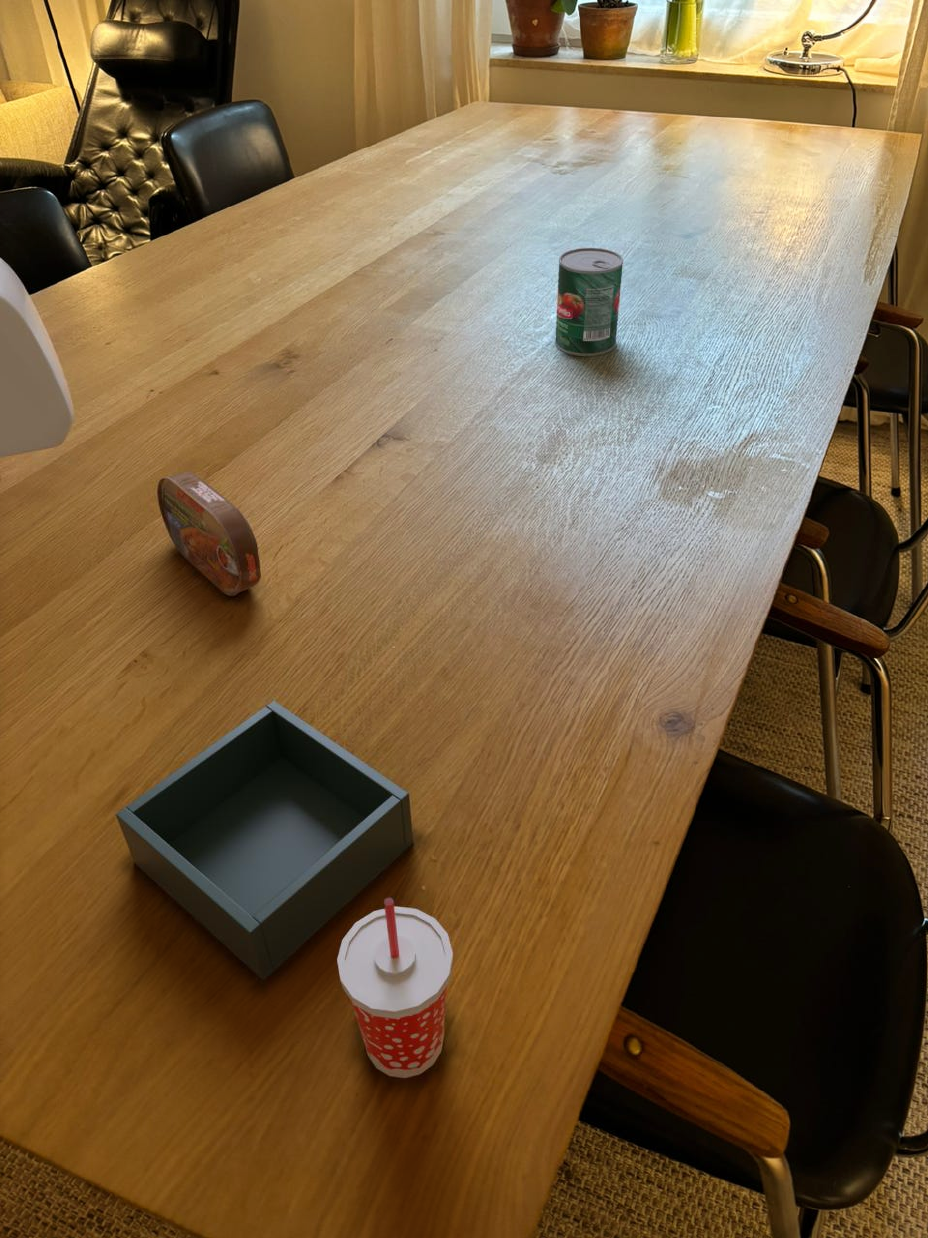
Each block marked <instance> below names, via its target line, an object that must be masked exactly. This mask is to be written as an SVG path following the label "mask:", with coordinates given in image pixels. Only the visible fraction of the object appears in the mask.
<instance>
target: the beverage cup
mask: <svg viewBox="0 0 928 1238" xmlns="http://www.w3.org/2000/svg"><path fill="white" fill-rule="evenodd" d="M383 904H384V906H383V907H384V908H382V909H381V908H380V909H377V910H374V911H372V912H371V913H368V914H367V915H365V916H364V917H363V918H361V919H358V920H357V921H356V922H355V923H354V924H353V925H352V927H351V928H350V929H349V931H348V932H347V933H346V934H345V936H344V937H343V939H342V940H341V944H340V947H339V951H338V955H337V958H336V960H337V967H338V968H337V969H338V973H339V974H338V975H339V979H340V984H341V987H342V990H343V991H344V992H345V993H346V995H347V997H348V998H349V999H350V1001H351V1004H352V1007H353V1012H354V1014H355V1017H356V1021H357V1024H358V1027H359V1030H360V1033H361V1038H362V1040H363V1044H364V1047H365V1050H366V1053H367V1056H368V1058H369V1060H370V1061H371V1063H372V1065H374V1067H375V1068H376V1069H377V1070H379V1071H380V1072H382V1073H384V1074H386V1075H387V1076H389V1077H395V1078H401V1079H407V1078H411V1077H414V1076H419V1075H421V1074H422V1073H424V1072H426V1071H427V1070H428V1069H429V1068H431V1067H432V1066H434V1065H435V1062H436V1061H437V1059H438V1058H439V1056H440V1055H441V1053H442V1049H443V1043H444V1039H445V1023H446V1009H447V1008H446V1006H447V991H448V990H447V989H448V984H449V983H450V980H451V974H452V969H453V963H454V960H453V959H454V952H453V948H452V945H451V941H450V937H449V934H448V932H447V931H446V930H445V929H444V928H443V926H442V925H441V924H440V923H439V921H438V920H437V919H436V918H435V917H433V916H432V915H429V914H427V913H426V912H424V911H422V910H419V909H418V908H413V907H405V906H396V905H395V902H394V899H393V898H391V897H385V899H384V900H383Z"/></svg>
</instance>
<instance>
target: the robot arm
mask: <svg viewBox="0 0 928 1238" xmlns="http://www.w3.org/2000/svg"><path fill="white" fill-rule="evenodd" d="M49 335H50V334H49V333H48V331H47V329H46V327H45V324H44V322H43V320H42V318H41V316H40V314H39V312H38V310H37V307H36V305H35V304H34V302H33V300H32V298H31V296H30V294H29V292H28V291H27V288H26V287H25V285H24V283H23V282H22V280H21V279H20V278H19V276H18V275H17V273H16V272H15V271H14V270H13V268H12V267H11V266H10V265H9V264H8V263H7V262H5V260H3V258H1V257H0V459H3V458H7V457H8V458H9V457H13V456H17V455H18V456H19V455H23V454H28V453H32V452H37V451H43V450H48V449H53V448H57V447H60V446H61V445H63V444H64V443H65V441H66V439H67V437H68V435H69V433H70V432H71V429H72V427H73V425H74V422H75V408H74V404H73V400H72V396H71V392H70V388H69V385H68V382H67V379H66V376H65V373H64V370H63V368H62V367H63V366H62V365H61V362H60V359H59V357H58V354H57V352H56V349H55V347H54V345H53V342H52V340H51V337H50V336H49ZM1 477H2V475H1V473H0V482H1V481H2V478H1Z"/></svg>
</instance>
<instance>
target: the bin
mask: <svg viewBox="0 0 928 1238" xmlns="http://www.w3.org/2000/svg"><path fill="white" fill-rule="evenodd" d="M410 802H411V801H410V793H409V792H407V791H406V790H405V789H403V788H402V787H401V786H399V785H397V784H396V783H395V782H393V781H392V780H390V779H389V778H387V777H386V776H384V775H383V774H382V773H380V772H379V771H377V770H375V769H374V768H373V767H371V766H370V765H369V764H367V763H365V762H364V761H362V760H361V759H360V758H359V757H357V756H355V755H354V754H353V753H351V752H349V750H347V749H345V748H344V747H342V746H340V744H338V743H337V742H335V741H333V740H332V739H330V738H329V737H328V736H326V735H325V734H323V733H322V732H320V731H319V730H317V729H316V728H315V727H313V726H312V725H310V724H309V723H307V722H306V721H304V720H303V719H301V718H300V717H299V716H297V715H296V714H295V713H293V712H291V711H290V710H288V709H287V708H286V707H284V706H282V705H281V704H279V702H277V701H275V700H272V701H271V702H270V703H268V704H267V705H265V706H263V707H262V708H261V709H260V710H258V711H257V712H256V713H254V714H252V715H251V716H250V717H248V718H247V719H246V720H244V721H243V722H241V723H240V724H238V725H237V726H236V727H234V728H233V729H232V730H230V731H228V733H226V734H225V735H224V736H222V737H220V738H219V739H218V740H216V741H215V742H214V743H212V744H211V745H210V746H208V747H206V748H205V749H204V750H202V751H201V752H199V753H198V754H197V755H195V756H194V757H193V758H191V759H190V760H188V761H187V762H186V763H184V764H183V765H181V766H180V767H179V768H177V769H176V770H174V771H173V772H172V773H170V774H169V775H168V776H166V777H165V778H163V779H162V780H160V781H159V782H158V783H157V784H155V785H154V786H153V787H151V788H149V789H148V790H147V791H146V792H143V794H141V795H140V796H139V797H137V798H136V799H134V800H133V801H132V802H130V803H129V804H126V806H124V807H123V808H122V809H120V810H119V811H118V812H116V813H115V816H116V819H117V822H118V825H119V827H120V830H121V832H122V835H123V837H124V841H125V842H126V845H127V847H128V850H129V852H130V855H131V857H132V860H133V863H134V864H135V865H136V866H137V867H138V868H139V869H140V870H142V872H143V873H145V874H146V875H147V876H148V877H149V878H150V879H151V880H152V881H153V882H155V883H156V885H158V886H159V887H160V888H161V889H162V890H163V891H165V892H166V893H167V894H168V895H169V897H171V898H172V899H173V900H174V901H176V903H178V904H179V905H180V906H181V907H182V908H183V909H184V910H185V911H186V912H188V913H189V914H190V915H191V916H192V917H193V918H194V919H195V920H196V921H197V922H198V923H200V925H202V926H203V927H204V928H205V929H206V930H207V931H208V932H209V933H211V934H212V935H213V936H214V937H215V938H216V939H217V940H218V941H219V942H220V943H222V944H223V946H225V947H226V948H227V949H228V950H229V951H230V952H231V953H232V954H233V955H235V956H236V957H237V959H239V960H240V961H241V962H242V963H244V964H245V965H246V966H247V967H248V968H249V969H250V970H251V971H252V972H254V974H256V975H257V976H258V977H259V978H260V979H261V980H262V981H265V980H267V979H268V977H270V976H271V975H272V974H273V973H274V972H275V971H276V970H277V969H279V967H281V965H283V964H284V963H285V962H286V961H287V960H288V959H289V958H290V957H291V956H292V955H293V954H294V953H296V952H297V951H298V950H299V949H300V948H301V947H302V946H303V945H304V944H305V943H307V941H309V940H310V938H312V937H313V936H314V935H315V934H316V933H317V932H318V931H320V930H321V928H323V927H324V926H325V925H326V924H327V923H328V922H329V921H331V920H332V918H333V917H335V915H337V914H338V913H339V912H340V911H341V910H342V909H343V908H345V906H347V905H348V903H350V902H351V901H352V900H353V899H354V898H355V897H356V896H358V894H360V893H361V892H362V891H363V890H364V889H365V888H366V887H367V886H368V885H369V884H370V883H371V882H373V880H375V879H376V878H377V877H378V876H379V875H380V874H381V873H382V872H384V870H385V869H387V868H388V867H390V865H391V864H392V863H393V862H394V861H395V860H396V859H398V857H400V856H401V855H402V854H403V853H404V852H405V851H406V850H407V849H408V848H409V847H411V846H412V845H413V844H414V835H413V824H412V813H411V803H410Z"/></svg>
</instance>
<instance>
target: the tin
mask: <svg viewBox="0 0 928 1238" xmlns="http://www.w3.org/2000/svg"><path fill="white" fill-rule="evenodd" d="M156 494H157V504H158V507H159V511H160V514H161V518H162V521H163V523H164V526H165V528H166V530H167V533H168V534H169V535H168V536H169V537H170V539H171V541H172V543H173V544H174V546H175V548H176V549H177V550H178V553H180V554H181V555H182V556H183V558H184V559H186V560H187V561H188V562H189V563H190V564H191V565H192V566H193V567H194V568H196V570H197V571H199V572H200V573H201V574H202V575H203V576H204V577H205V578H207V580H208V581H210V582H211V584H213V585H214V586H215V588H217V589H218V590H219V591H220V592H221V593H223V594H224V595H226V596H229V597H234V596H236V595H237V594H239V593H241V592H243V591H246V590H248V589H251V588H253V587H255V586H256V585H257V584H258V583H259V582H260V580H261V577H262V573H261V561H260V554H259V546H258V543H257V542H258V541H257V539H256V537H255V534H254V531H253V530H252V528H251V525H250V523H249V522H248V520H247V519H246V517H245V516H244V514H243V513H242V511H241V510H240V509H238V507H237V506H235V505H234V504H233V503H232V502H231V501H229V500H228V499H227V498H225V496H223V495H222V494H221V493H220V492H219V491H217V490H216V489H214V488H213V487H212V486H211V485H209V484H208V483H207V482H206V481H205V480H203V479H202V478H200V476H198V475H197V474H195V473H193V472H190V471H185V472H180V473H177V474H173V475H171V476H166V477H165V476H164V477H162V478H160V480H159V481H158V483H157V491H156Z"/></svg>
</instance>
